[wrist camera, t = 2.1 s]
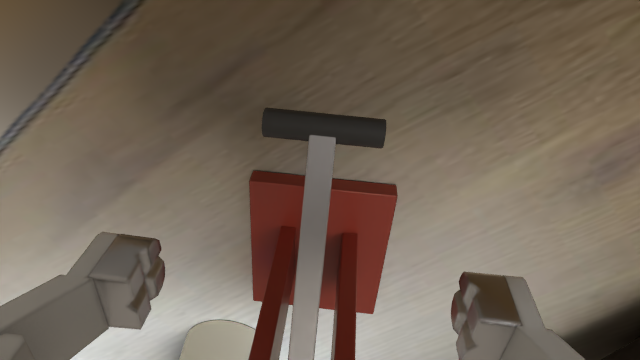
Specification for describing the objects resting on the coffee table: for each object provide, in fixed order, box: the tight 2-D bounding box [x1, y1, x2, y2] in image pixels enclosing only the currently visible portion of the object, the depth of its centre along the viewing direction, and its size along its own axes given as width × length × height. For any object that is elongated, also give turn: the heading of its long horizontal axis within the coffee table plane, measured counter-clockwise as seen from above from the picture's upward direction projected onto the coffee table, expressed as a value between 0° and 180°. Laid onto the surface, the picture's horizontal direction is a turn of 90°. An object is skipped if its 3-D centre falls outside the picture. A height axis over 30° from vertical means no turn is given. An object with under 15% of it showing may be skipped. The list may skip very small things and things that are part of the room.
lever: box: [262, 108, 386, 360], centre depth 19 cm, size 16×5×2 cm, turn 176°
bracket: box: [248, 171, 397, 360], centre depth 24 cm, size 11×9×15 cm
